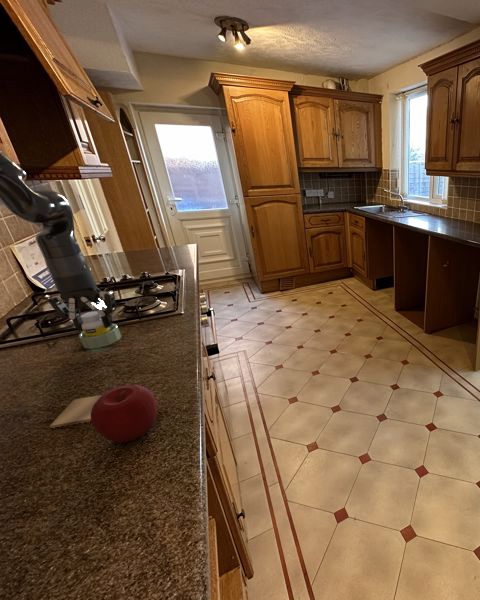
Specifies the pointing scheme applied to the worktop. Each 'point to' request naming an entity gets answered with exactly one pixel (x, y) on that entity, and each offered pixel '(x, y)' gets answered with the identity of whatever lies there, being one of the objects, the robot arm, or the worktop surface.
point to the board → (76, 412)
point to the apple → (124, 413)
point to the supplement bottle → (93, 324)
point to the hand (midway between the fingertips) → (96, 327)
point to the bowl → (101, 340)
